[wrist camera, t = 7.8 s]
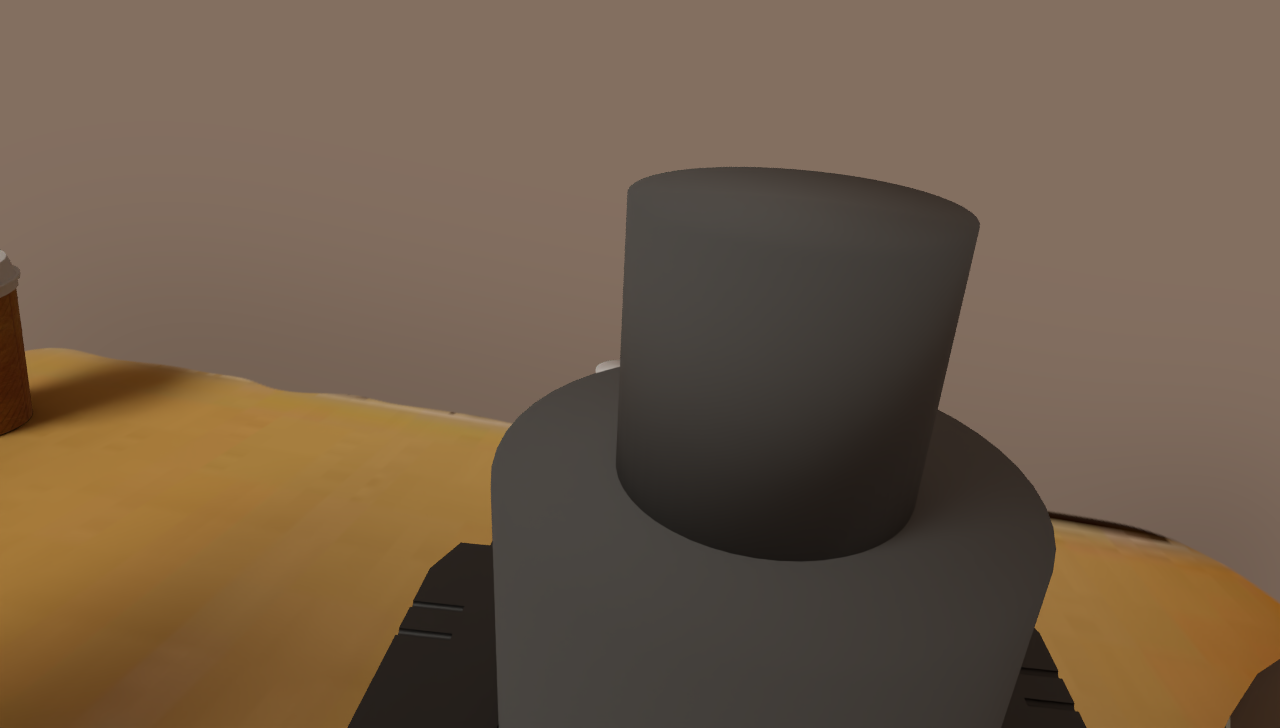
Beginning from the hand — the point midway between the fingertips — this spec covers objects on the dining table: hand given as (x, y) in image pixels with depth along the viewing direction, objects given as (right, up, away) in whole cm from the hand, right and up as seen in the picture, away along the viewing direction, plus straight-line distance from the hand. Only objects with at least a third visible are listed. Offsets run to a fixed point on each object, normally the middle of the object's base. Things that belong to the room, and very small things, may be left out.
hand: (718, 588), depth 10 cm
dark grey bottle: (-1, -8, +1) cm, 8 cm away
